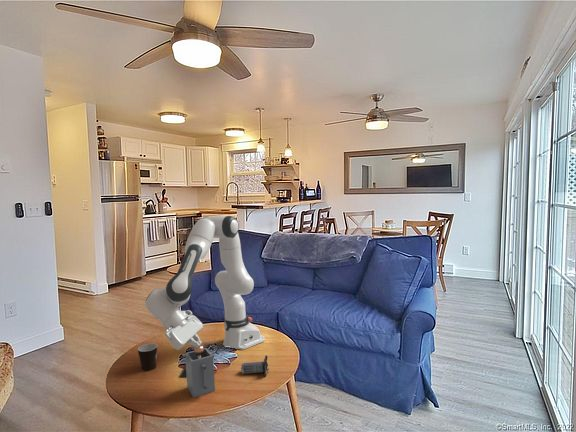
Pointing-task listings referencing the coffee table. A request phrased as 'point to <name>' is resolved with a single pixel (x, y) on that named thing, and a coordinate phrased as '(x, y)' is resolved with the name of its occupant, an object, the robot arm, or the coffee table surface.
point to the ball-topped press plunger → (199, 351)
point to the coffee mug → (148, 356)
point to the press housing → (200, 373)
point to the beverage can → (255, 367)
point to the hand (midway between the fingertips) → (199, 345)
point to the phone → (183, 373)
